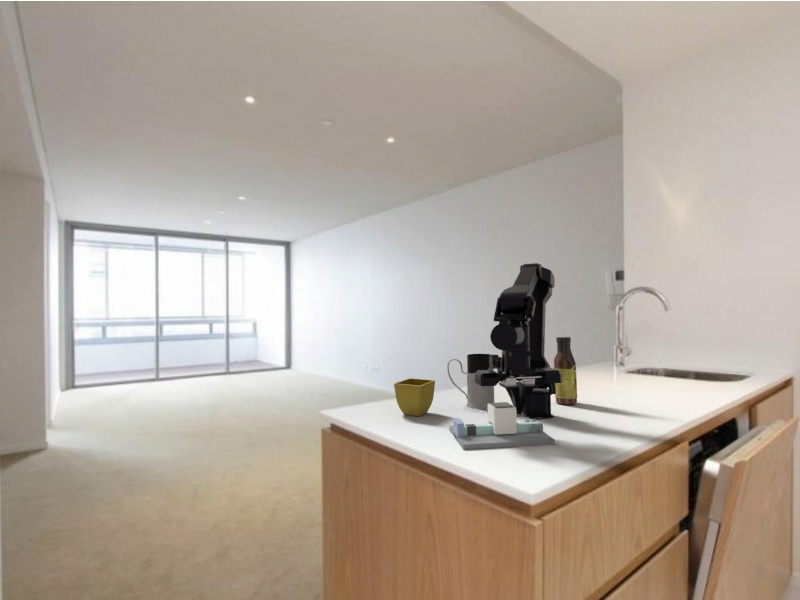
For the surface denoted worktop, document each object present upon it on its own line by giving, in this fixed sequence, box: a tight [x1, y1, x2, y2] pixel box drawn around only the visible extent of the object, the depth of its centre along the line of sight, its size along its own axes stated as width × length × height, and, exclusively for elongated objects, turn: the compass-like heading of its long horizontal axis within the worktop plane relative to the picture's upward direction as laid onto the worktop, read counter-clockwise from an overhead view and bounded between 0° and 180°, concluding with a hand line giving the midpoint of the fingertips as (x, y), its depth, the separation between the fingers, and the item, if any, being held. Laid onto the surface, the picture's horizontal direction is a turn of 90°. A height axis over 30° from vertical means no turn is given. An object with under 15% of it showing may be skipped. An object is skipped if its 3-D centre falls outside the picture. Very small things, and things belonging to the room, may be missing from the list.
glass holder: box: [446, 353, 496, 410], centre depth 129 cm, size 9×14×15 cm, turn 74°
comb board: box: [448, 418, 556, 450], centre depth 98 cm, size 20×14×4 cm
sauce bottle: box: [553, 336, 578, 406], centre depth 129 cm, size 6×6×20 cm
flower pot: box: [393, 377, 436, 417], centre depth 120 cm, size 9×9×9 cm
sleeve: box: [487, 401, 517, 435], centre depth 98 cm, size 5×5×6 cm
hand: (518, 414), depth 98 cm, fingers closed
